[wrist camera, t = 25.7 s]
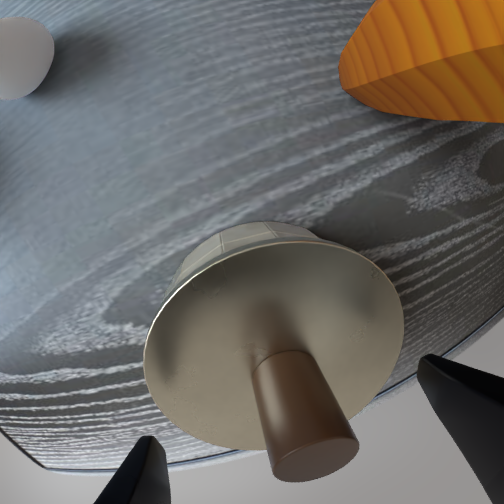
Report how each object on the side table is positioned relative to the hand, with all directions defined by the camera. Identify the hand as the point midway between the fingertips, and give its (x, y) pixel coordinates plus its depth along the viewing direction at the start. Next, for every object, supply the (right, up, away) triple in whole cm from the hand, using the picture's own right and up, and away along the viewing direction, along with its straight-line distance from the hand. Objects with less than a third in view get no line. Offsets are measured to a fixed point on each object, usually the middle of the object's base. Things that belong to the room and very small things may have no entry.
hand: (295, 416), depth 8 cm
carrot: (+3, +13, +3) cm, 13 cm away
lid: (0, +1, +2) cm, 2 cm away
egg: (-12, +14, +1) cm, 18 cm away
